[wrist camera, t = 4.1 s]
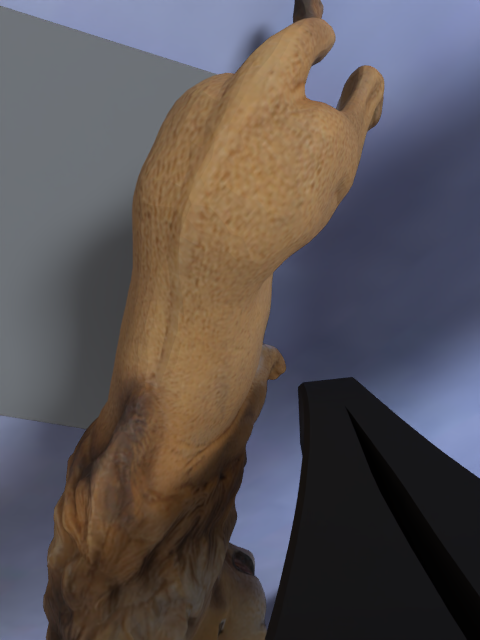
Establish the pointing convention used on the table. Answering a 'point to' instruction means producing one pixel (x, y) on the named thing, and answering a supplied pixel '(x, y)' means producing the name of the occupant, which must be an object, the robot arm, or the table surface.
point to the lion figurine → (201, 347)
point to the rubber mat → (70, 207)
